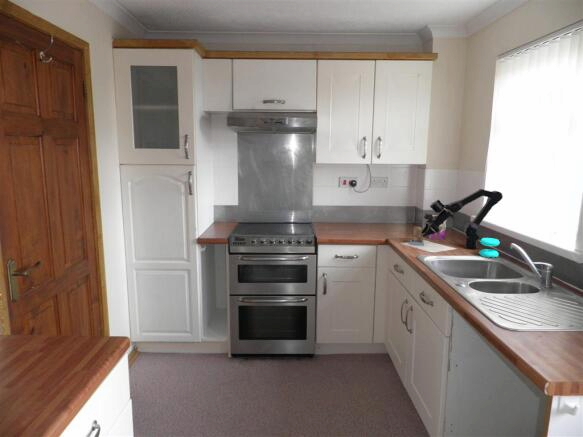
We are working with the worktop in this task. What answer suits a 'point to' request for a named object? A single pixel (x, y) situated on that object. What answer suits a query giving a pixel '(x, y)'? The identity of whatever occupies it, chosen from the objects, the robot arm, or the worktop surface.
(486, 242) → the pair of cyan ovals
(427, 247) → the white rectangular sheet
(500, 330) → the worktop surface
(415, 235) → the walnut column
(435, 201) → the robot arm
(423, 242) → the socket
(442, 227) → the candy bar box
